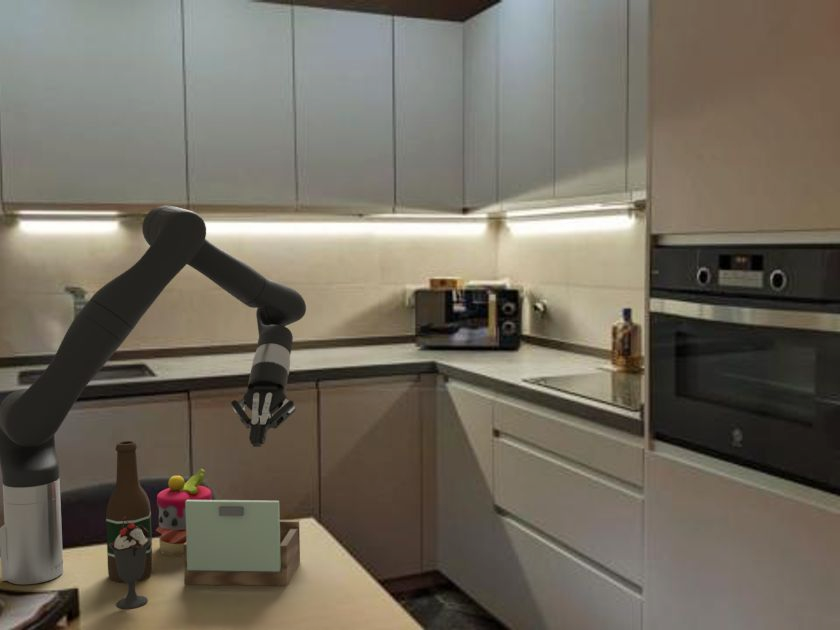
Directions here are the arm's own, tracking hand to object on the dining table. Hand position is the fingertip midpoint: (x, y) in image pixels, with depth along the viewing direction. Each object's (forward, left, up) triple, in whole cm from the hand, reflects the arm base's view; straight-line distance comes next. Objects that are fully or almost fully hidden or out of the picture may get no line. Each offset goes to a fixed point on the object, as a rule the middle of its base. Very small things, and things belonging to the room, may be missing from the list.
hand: (256, 444), depth 166 cm
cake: (-15, +2, -21) cm, 26 cm away
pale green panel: (0, -17, -18) cm, 25 cm away
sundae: (-15, -25, -21) cm, 36 cm away
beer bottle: (-20, -13, -21) cm, 32 cm away
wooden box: (0, -11, -21) cm, 23 cm away
